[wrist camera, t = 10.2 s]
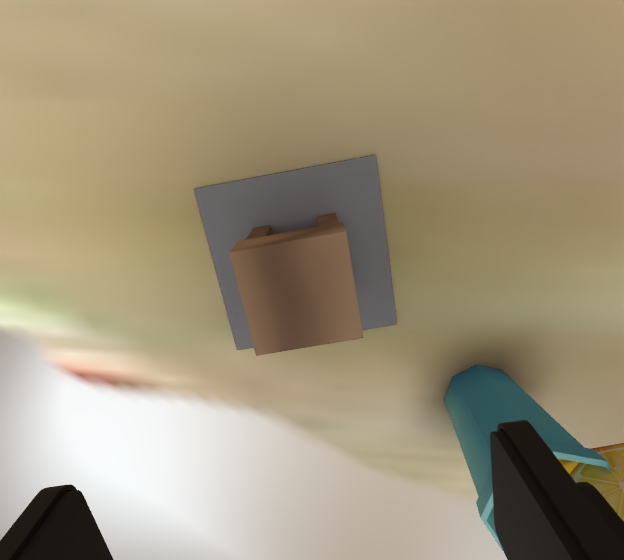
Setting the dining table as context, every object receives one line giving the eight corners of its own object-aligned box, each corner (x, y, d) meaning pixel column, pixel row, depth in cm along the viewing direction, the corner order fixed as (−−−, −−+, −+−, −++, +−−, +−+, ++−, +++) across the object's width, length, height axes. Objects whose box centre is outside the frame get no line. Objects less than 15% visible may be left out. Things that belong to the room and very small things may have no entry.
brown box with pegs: (337, 209, 27) (346, 231, 20) (351, 292, 29) (363, 337, 22) (249, 225, 27) (229, 252, 21) (269, 306, 29) (256, 355, 22)
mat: (375, 154, 26) (376, 154, 26) (396, 321, 30) (397, 324, 29) (195, 188, 27) (193, 189, 26) (237, 347, 31) (237, 350, 30)
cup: (449, 480, 35) (543, 715, 20) (377, 438, 33) (425, 658, 19) (569, 363, 31) (787, 550, 17) (494, 309, 30) (663, 465, 15)
